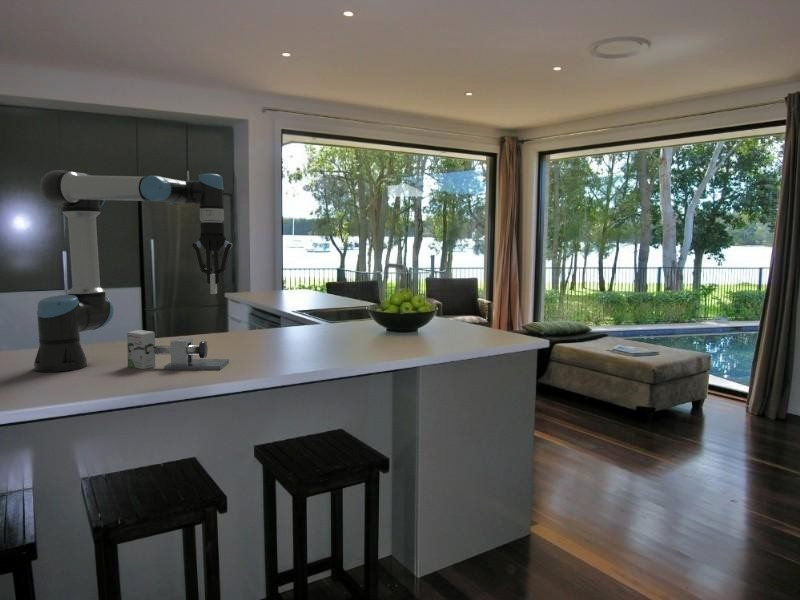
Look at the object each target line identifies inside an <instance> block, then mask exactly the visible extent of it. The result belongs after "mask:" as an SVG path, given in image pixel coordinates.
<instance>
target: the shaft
mask: <svg viewBox="0 0 800 600" xmlns="http://www.w3.org/2000/svg"><path fill="white" fill-rule="evenodd" d="M154 352H155V356H157V355H170V356H171V348H170V345H155V349H154ZM188 354H193V355H198V356H199V359H207V356H208V342H207V341H205V340H204V341H200V342H199V345H196V344H194V345H188Z"/></svg>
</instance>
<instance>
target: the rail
mask: <svg viewBox="0 0 800 600" xmlns="http://www.w3.org/2000/svg"><path fill="white" fill-rule="evenodd" d="M193 339H194V338H193V337H176V338H174V339H173V340H171V341H170V342H169V343H170V344H169V346H170V348H171V355H170V362H169V363H168V364H166V365H164V366H163V369H164V371H197V370H198V371H199V370H200V371H202V370H203V371H209V370H211V371H212V370H213V371H214V370H215V371H216V370H217V371H221V370H222V369H223V368H224V367H226V366H227V364H229V363H230V359H229V358H194V354H188V345H193V341H194V340H193Z"/></svg>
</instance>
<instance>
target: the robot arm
mask: <svg viewBox="0 0 800 600" xmlns="http://www.w3.org/2000/svg"><path fill="white" fill-rule="evenodd" d="M223 181H224V180H223V176H222V175H220V174H216V173H201V174H199V175H198V180H180V179H174V178H170V177H169V178H168V177H163V176H161V175H148V176H140V175H139V176H136V175H135V176H133V175H131V176H129V175H127V176H126V175H91V174H88V173H83V172H75V171H68V170H63V169H58V170H51V171H48V172H47V173H45V174H44V176H43V177H42V178H41V180H40V187H39V188H40V191H41V194H42V196H43V197H44V199H45V200H46V201H48V202H49V203H51V204H53V205H56V206H61V209H62V210H61V211H62V214H63V215H64V216H66V217H67V221H68V222H67V223H68V238H69V252H70V269H71V281H72V282H71V283H72V287H71V288H70V289H69V291H68V292H67V294H61V295H56V296H55V295H53V296H47V297H45V298H42V299H41V300H39V301H38V303H37V312H36V315H37V330H38V343H39V346H38V349H37V352H36V357H35V358H34V359H35V360H34V363H33V367H34V371H36V372H39V373H40V372H42V373H56V372H57V373H58V372H66V371H67V372H68V371H73V370H78V369H83V368H85V367H87V366H88V359H87V356H86V354H85V352H84V350H83V347H82V345H81V339H80V338H81V337H80V333H83V332H86V331H93V330H94V331H95V330H97V329H100V328H103V327H105V326H106V325H108V324H109V323H110V322H111V321H112V318H113V316H114V311H115V310H114V304H113V302H112V301H111V300H110V298H109V297H108V296H106V290H105V289H104V288H102V287H101V279H100V266H99V265H100V263H99V261H100V260H99V248H98V233H97V229H98V228H97V217H98V216H99V215H100V214H101V207H103V205H104V203H105V202H106V201H134V202H135V201H136V202H140V201H141V202H161V203H163V202H164V203H168V204H170V205H177V206H178V205H179V206H180V205H195V204H196V205H199V221H201V222H200V225H199V229H200V230H199V231H200V232H199V233H200V234H199V235H200V236H199V238H198V241H196V242H195V243H194V242H193V243H192V247H193V249H194V250H195V254H196V257H197V261H198V265H199V267H200V271H201V272H202V273H203V274H206V276H207V277H206V278H207V279H206V281H207V282H206V283H207V284H208V285H209V284H210V285H209V286H210V295H216V294H218V285H219V284H220V282H221V274H222V273H226V271H227V270H226V269H227V265H228V260H229V257H230V252H231V250H232V248H233V246H234V245H233V243H232V242H229V241H227V238H226V237H225V224H224V221H225V211H224V189H225V188H224V182H223ZM202 246H203V248H204V250H205V257H206V258H204V255H203V251H202V249H201V248H202ZM223 247H224V251H223V256H222V259H221V257H220V256H221V254H220V253H221V249H222V248H223ZM212 255H213V256H212ZM213 257H214V258H213ZM205 259H206V262H205ZM213 261H214V266H213ZM213 267H214V272H213Z"/></svg>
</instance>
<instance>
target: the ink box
mask: <svg viewBox="0 0 800 600" xmlns="http://www.w3.org/2000/svg"><path fill="white" fill-rule="evenodd" d="M155 335H156V334H155V331H150V330H149V331H148V330H144V329H143V330H142V329H136V330H131V331H127V332H126V343H127V344H126V345H127V346H126V348H127V350H126V351H127V367H130V368H137V369H141V370H145V369H152V368H155V367H156V355H155V352H154V349H155V346H156V341H155V340H156V338H155V337H156V336H155Z"/></svg>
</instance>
